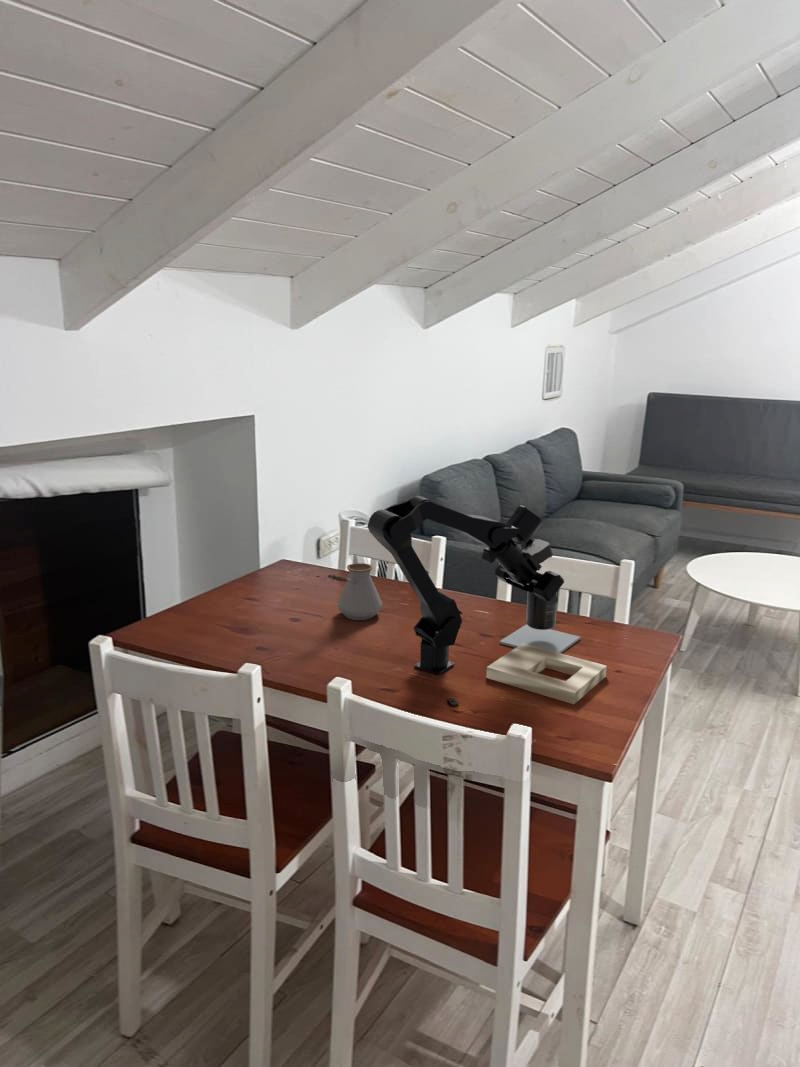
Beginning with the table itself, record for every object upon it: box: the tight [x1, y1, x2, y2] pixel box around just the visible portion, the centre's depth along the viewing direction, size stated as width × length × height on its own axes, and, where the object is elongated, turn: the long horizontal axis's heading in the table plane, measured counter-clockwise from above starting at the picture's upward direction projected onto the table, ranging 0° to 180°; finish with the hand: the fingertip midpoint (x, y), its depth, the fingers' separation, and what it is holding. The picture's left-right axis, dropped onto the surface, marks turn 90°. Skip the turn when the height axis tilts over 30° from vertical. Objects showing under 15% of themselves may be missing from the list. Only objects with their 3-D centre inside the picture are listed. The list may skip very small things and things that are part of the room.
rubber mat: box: [499, 623, 581, 654], centre depth 190 cm, size 14×14×1 cm
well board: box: [486, 643, 608, 705], centre depth 171 cm, size 16×20×2 cm
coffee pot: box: [323, 562, 383, 621], centre depth 200 cm, size 21×12×15 cm, turn 154°
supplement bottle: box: [525, 582, 558, 630], centre depth 188 cm, size 7×7×12 cm
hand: (546, 597), depth 188 cm, fingers closed on supplement bottle, 7 cm apart
